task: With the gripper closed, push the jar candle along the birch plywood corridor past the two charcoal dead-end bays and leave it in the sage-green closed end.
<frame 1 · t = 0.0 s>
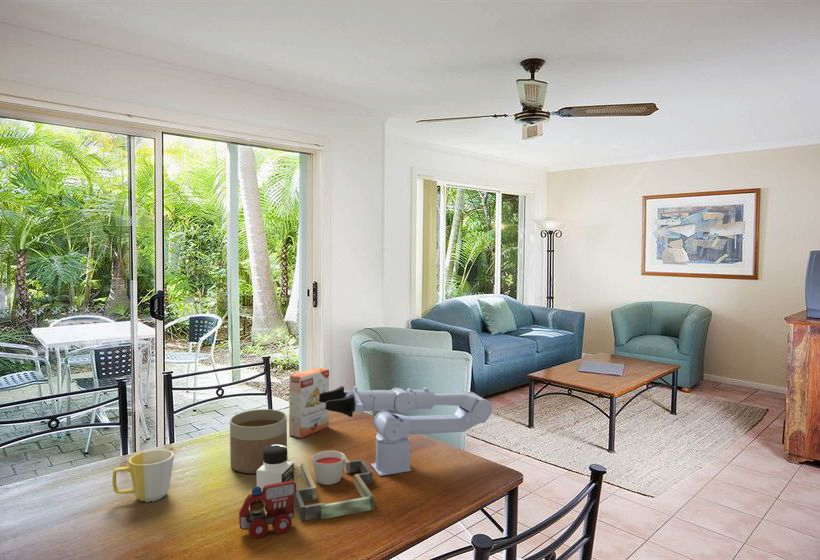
hand: (322, 401, 142), 22 cm above the table, tool horizontal, fingers open, 7 cm apart
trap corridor: (334, 490, 137), on the table
planter: (259, 464, 153), on the table
candle: (328, 480, 143), on the table
mug: (145, 498, 132), on the table
toy fire truck: (268, 529, 118), on the table
medicine bottle: (275, 493, 136), on the table
cracker box: (309, 432, 180), on the table
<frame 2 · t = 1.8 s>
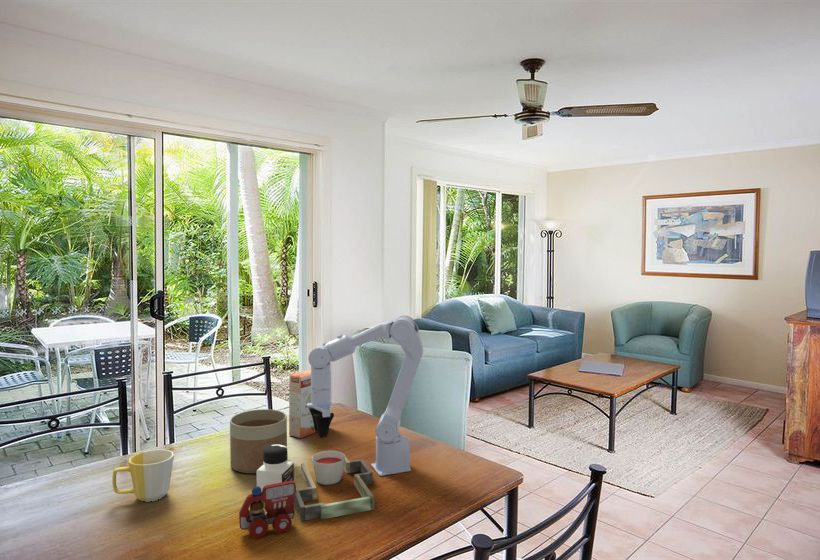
hand: (321, 434, 151), 9 cm above the table, tool pointing down, fingers open, 5 cm apart
nothing on the table moved.
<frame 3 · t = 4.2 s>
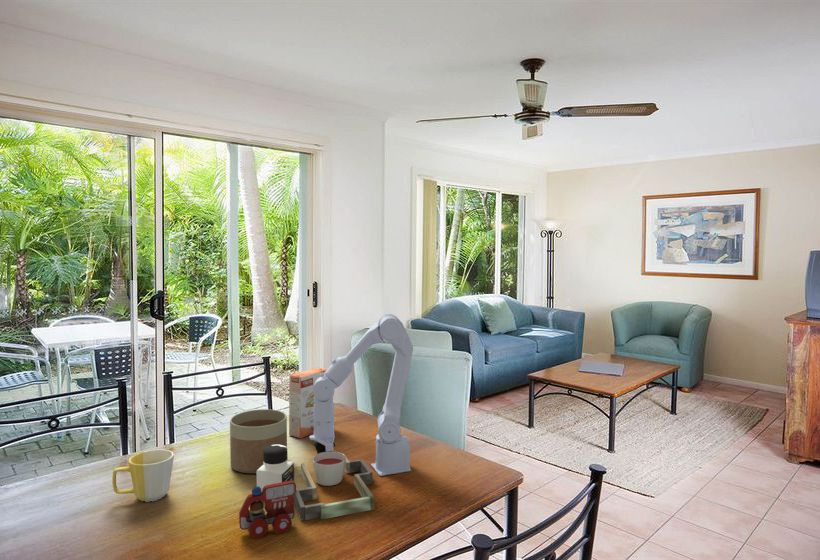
hand: (324, 466, 148), 1 cm above the table, tool pointing down, fingers closed
candle: (329, 481, 143), on the table, touching gripper
everything else where it was.
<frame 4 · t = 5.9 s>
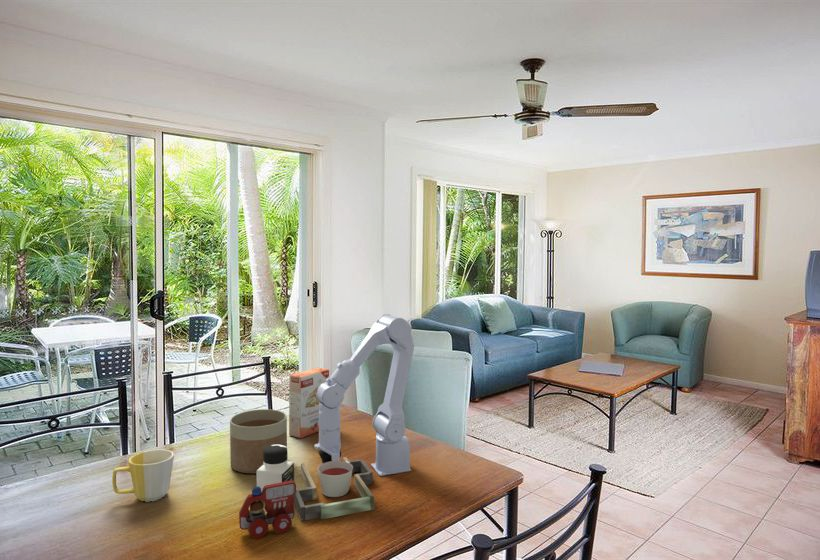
hand: (329, 476, 142), 1 cm above the table, tool pointing down, fingers closed
candle: (335, 492, 136), on the table, touching gripper
everything else where it was.
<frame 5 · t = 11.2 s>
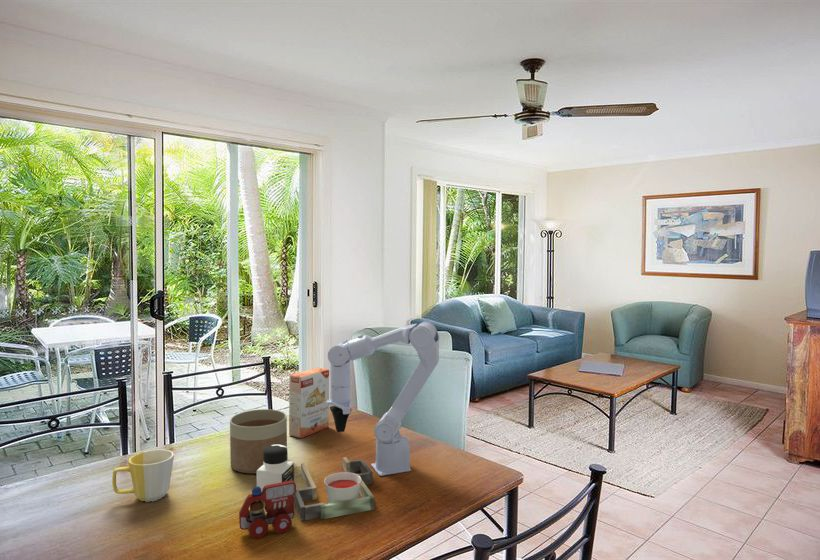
hand: (340, 431, 153), 10 cm above the table, tool pointing down, fingers closed
candle: (342, 505, 129), on the table, touching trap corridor
everything else where it was.
at the end: candle inside the target area (0.4 cm from its centre), on the table; candle tilted 0° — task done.
